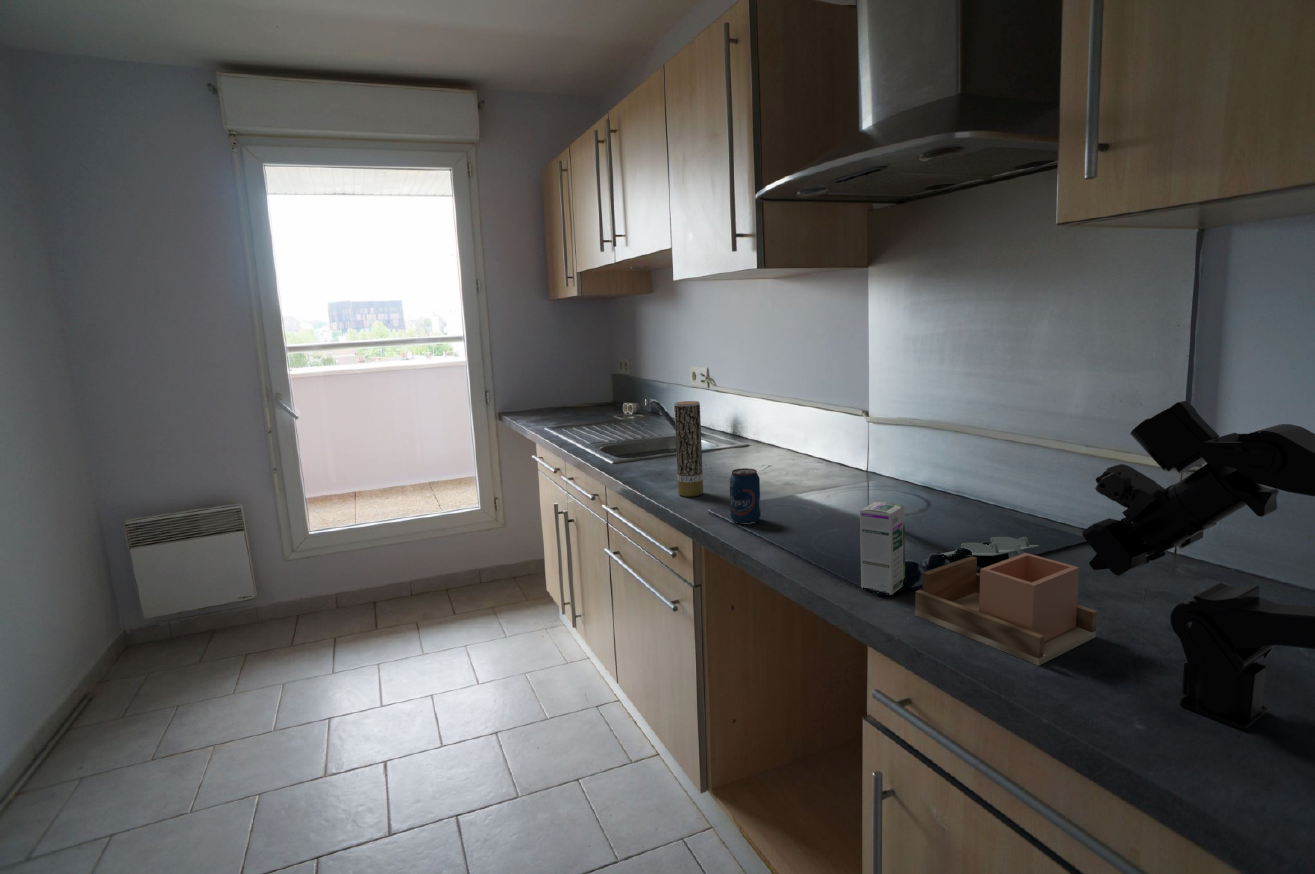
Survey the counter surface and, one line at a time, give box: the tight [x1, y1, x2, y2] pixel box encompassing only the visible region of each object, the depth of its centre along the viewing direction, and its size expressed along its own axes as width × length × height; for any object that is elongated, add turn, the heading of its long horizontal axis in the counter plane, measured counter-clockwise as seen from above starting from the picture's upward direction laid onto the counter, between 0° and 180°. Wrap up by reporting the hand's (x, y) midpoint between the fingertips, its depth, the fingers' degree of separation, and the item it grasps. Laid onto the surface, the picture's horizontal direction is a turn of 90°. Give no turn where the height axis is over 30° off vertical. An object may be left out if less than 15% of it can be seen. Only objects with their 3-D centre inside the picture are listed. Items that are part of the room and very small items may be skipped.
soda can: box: [729, 468, 761, 523], centre depth 165 cm, size 7×7×12 cm
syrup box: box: [859, 501, 906, 596], centre depth 122 cm, size 6×6×14 cm
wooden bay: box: [914, 555, 1098, 666], centre depth 106 cm, size 20×14×7 cm
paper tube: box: [673, 400, 704, 498], centre depth 190 cm, size 7×7×25 cm
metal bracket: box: [941, 536, 1040, 559], centre depth 134 cm, size 14×6×15 cm
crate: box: [979, 552, 1080, 642], centre depth 103 cm, size 8×11×9 cm
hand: (1092, 566), depth 94 cm, fingers closed
